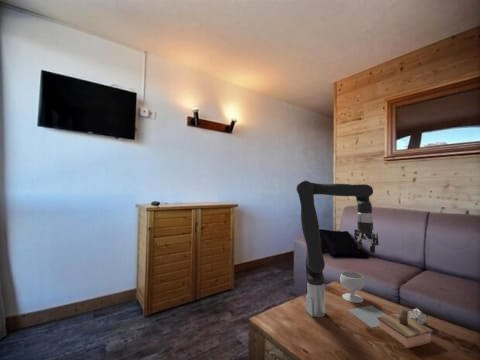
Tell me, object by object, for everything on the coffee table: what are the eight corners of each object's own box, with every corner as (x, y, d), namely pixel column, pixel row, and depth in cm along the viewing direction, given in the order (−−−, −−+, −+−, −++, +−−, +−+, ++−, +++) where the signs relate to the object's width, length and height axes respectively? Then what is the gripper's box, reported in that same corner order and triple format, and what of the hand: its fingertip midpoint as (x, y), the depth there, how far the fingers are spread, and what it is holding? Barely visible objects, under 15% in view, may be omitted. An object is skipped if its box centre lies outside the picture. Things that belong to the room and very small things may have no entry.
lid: (406, 338, 98) (405, 322, 98) (377, 319, 112) (377, 305, 113) (432, 332, 101) (431, 316, 102) (401, 314, 116) (400, 300, 116)
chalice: (346, 291, 152) (345, 269, 152) (368, 299, 141) (368, 275, 142) (336, 298, 143) (335, 274, 143) (359, 306, 132) (358, 281, 133)
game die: (422, 334, 113) (435, 324, 107) (404, 326, 115) (416, 316, 109) (417, 316, 120) (429, 307, 115) (400, 309, 122) (411, 300, 116)
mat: (371, 328, 112) (371, 327, 112) (347, 310, 129) (347, 309, 129) (398, 322, 117) (398, 322, 117) (371, 306, 133) (371, 305, 133)
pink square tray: (406, 348, 98) (406, 337, 98) (379, 328, 112) (379, 319, 112) (431, 342, 102) (430, 332, 102) (401, 324, 115) (401, 315, 115)
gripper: (349, 219, 129) (350, 247, 128) (369, 223, 115) (371, 255, 114) (360, 218, 130) (361, 246, 130) (381, 222, 117) (383, 253, 116)
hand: (366, 250), depth 122 cm, fingers open, 8 cm apart
